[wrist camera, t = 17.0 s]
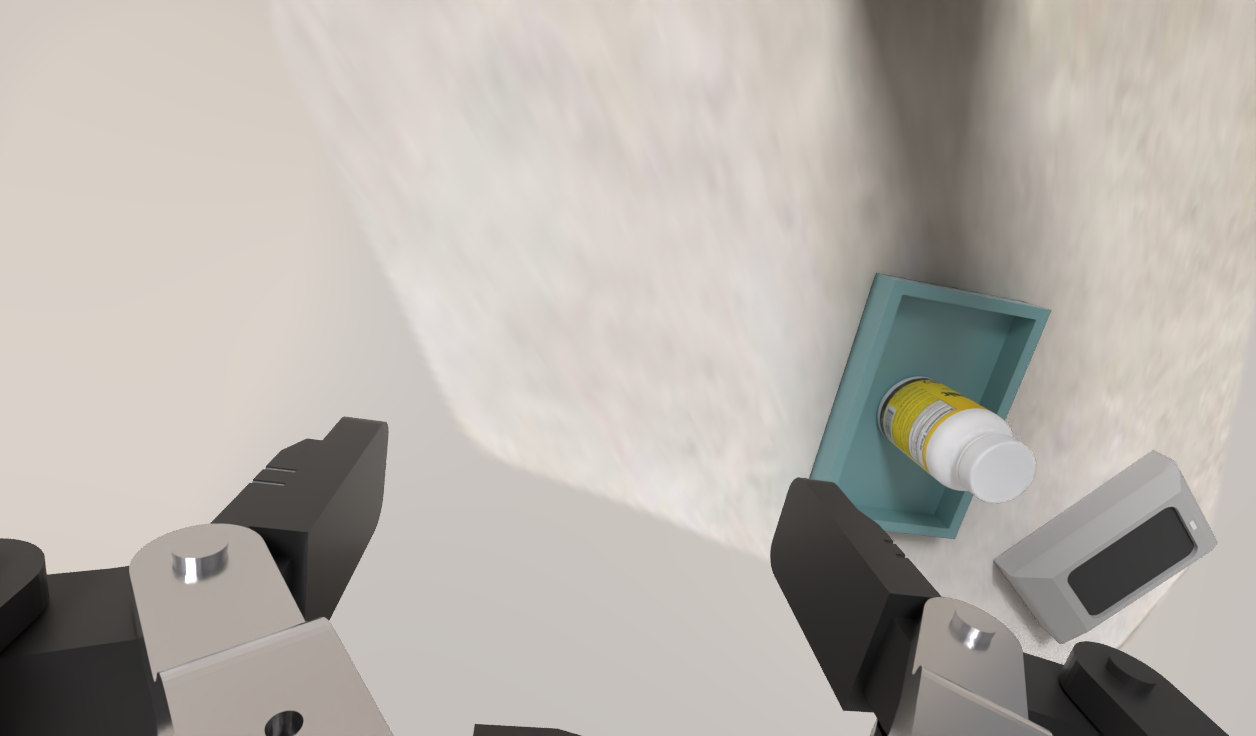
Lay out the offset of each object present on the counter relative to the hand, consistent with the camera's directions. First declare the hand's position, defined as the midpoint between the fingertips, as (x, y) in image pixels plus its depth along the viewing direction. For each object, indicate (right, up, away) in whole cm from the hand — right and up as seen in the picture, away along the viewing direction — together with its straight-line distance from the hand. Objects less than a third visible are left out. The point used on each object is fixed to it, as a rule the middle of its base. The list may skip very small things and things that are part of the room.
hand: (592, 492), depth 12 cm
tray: (+21, 0, +32) cm, 39 cm away
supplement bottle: (+21, 0, +32) cm, 38 cm away
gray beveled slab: (+40, -12, +39) cm, 57 cm away
